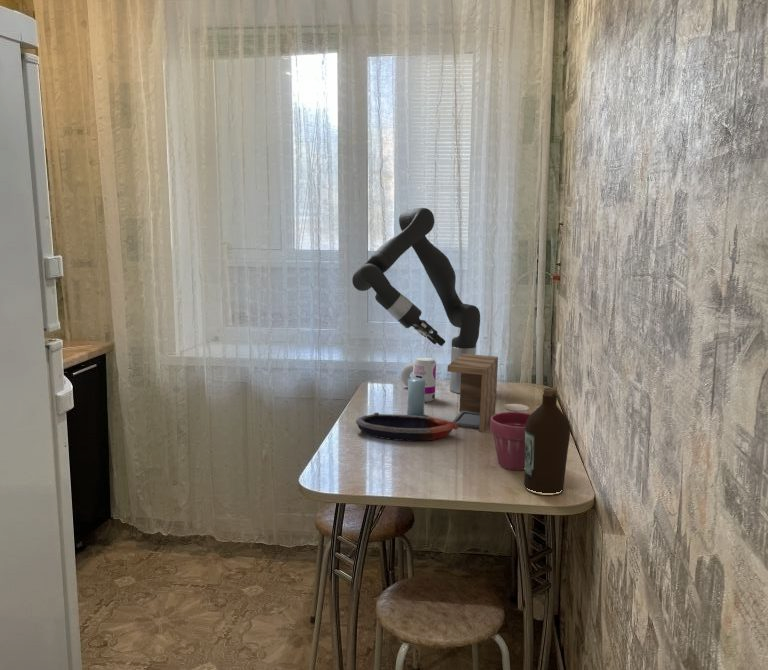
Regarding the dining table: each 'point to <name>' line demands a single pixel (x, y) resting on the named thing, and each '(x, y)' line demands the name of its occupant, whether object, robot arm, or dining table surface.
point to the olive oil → (546, 446)
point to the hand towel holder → (516, 407)
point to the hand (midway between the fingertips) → (440, 343)
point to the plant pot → (510, 438)
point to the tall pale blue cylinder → (416, 396)
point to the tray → (468, 419)
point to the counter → (477, 385)
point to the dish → (405, 426)
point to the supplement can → (426, 375)
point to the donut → (406, 373)
